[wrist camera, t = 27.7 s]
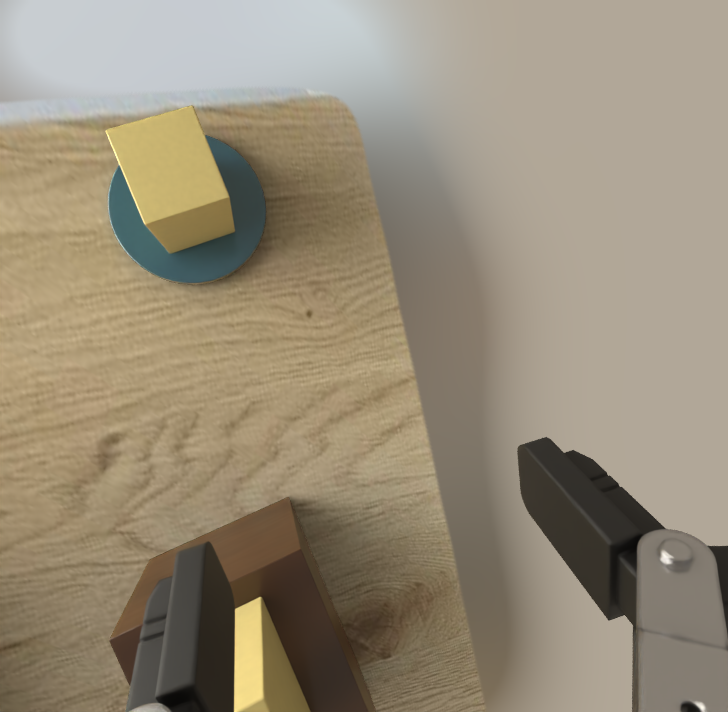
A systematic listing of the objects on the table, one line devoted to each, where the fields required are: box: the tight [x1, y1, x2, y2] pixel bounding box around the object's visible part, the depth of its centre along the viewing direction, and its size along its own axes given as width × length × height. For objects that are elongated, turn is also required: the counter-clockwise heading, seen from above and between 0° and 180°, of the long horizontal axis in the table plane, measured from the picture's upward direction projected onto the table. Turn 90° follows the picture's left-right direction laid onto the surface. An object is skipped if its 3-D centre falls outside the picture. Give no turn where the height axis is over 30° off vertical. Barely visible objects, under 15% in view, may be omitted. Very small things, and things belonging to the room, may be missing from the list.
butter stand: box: [109, 497, 376, 712], centre depth 32 cm, size 16×10×10 cm, turn 22°
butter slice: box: [106, 105, 235, 254], centre depth 30 cm, size 5×4×8 cm
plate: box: [108, 135, 266, 285], centre depth 35 cm, size 10×10×1 cm
